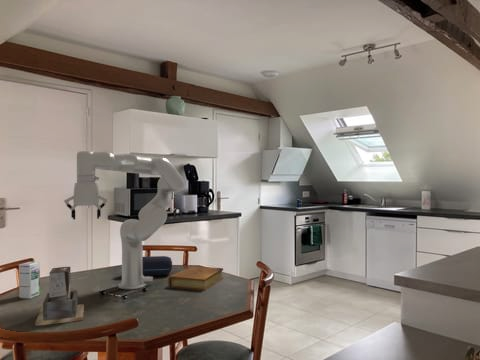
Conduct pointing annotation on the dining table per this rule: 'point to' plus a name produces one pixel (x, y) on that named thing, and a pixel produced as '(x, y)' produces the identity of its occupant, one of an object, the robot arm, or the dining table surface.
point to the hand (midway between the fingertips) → (86, 218)
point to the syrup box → (29, 280)
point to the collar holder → (60, 310)
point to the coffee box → (59, 284)
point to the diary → (196, 278)
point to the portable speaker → (156, 265)
